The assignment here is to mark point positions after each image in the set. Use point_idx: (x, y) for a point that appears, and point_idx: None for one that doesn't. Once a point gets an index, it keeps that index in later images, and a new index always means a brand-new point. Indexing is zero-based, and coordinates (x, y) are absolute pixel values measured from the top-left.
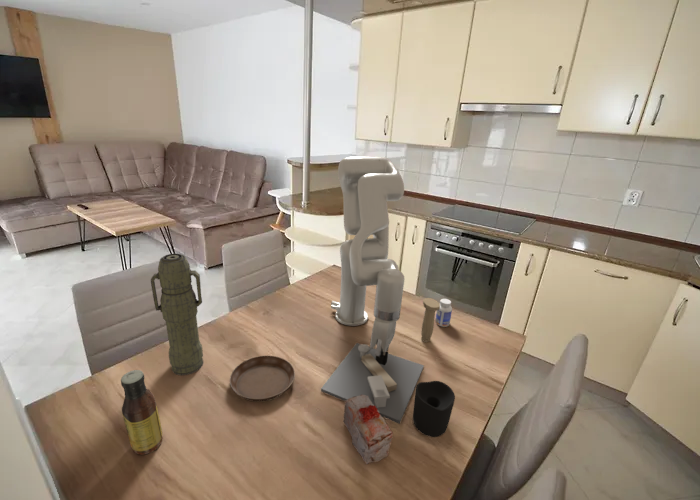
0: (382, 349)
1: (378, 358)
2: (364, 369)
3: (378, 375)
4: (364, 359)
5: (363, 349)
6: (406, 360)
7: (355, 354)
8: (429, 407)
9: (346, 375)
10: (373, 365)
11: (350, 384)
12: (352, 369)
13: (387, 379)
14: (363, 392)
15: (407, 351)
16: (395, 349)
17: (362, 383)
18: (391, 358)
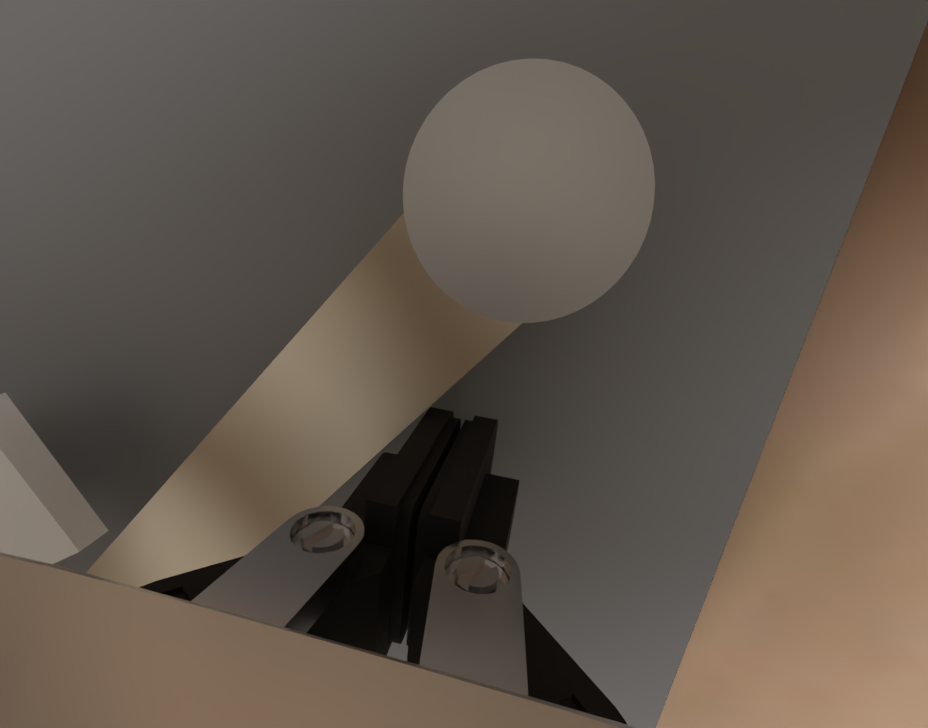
0: (413, 618)
1: (364, 487)
2: (321, 276)
3: (167, 485)
4: (363, 260)
5: (459, 204)
6: (649, 693)
7: (578, 50)
8: None
9: (127, 86)
10: (293, 409)
11: (43, 186)
12: (254, 125)
13: (165, 573)
14: (34, 342)
15: (879, 687)
16: (900, 565)
17: (120, 307)
18: (638, 551)
